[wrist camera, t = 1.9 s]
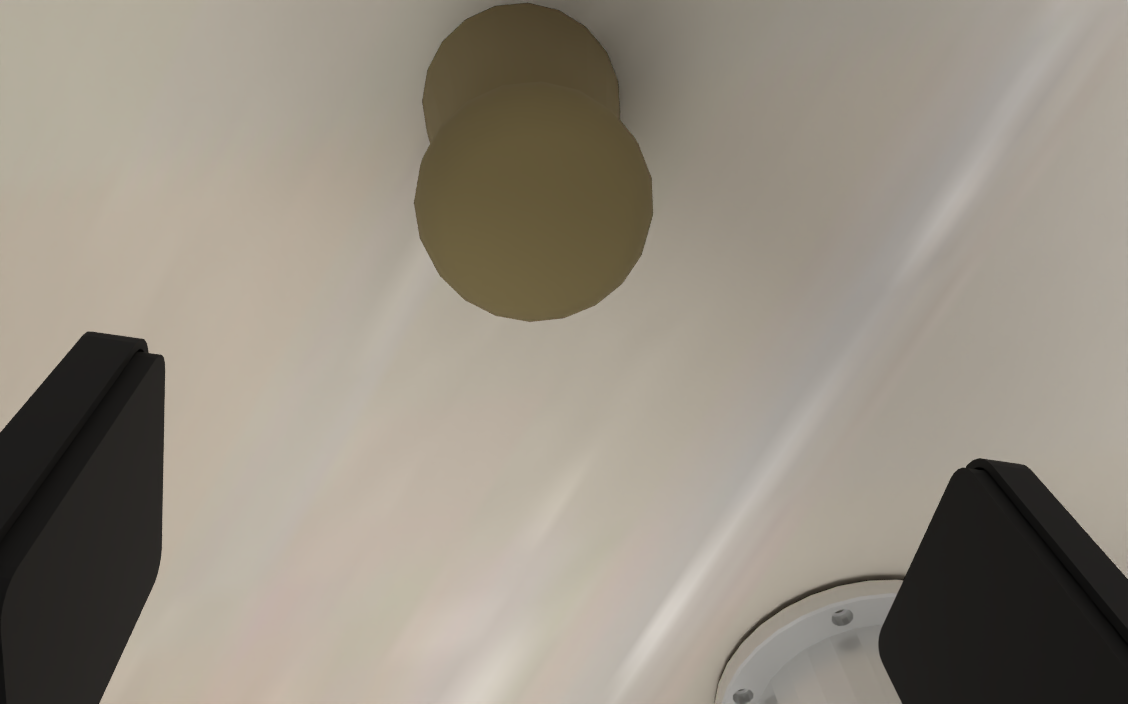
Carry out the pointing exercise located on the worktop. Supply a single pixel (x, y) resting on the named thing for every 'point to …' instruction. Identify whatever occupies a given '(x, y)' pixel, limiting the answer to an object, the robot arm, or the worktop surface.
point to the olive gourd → (529, 167)
